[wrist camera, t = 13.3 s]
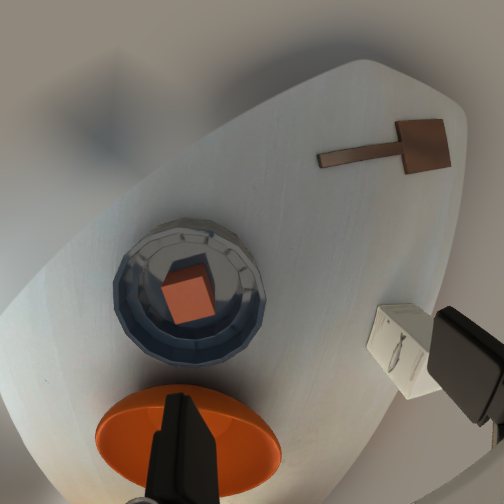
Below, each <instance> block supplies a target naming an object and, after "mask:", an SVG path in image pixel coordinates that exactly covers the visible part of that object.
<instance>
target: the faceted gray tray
mask: <svg viewBox="0 0 504 504" xmlns="http://www.w3.org/2000/svg"><path fill="white" fill-rule="evenodd" d="M201 263H204V264H205V267H206V270H207V273H208V277H209V280H210V283H211V286H212V289H213V292H214V295H215V315H212V316H208V317H204V318H200V319H196V320H192V321H188V322H184V323H180V324H175V322H174V320H173V317H172V315H171V312H170V310H169V307H168V305H167V302H166V299H165V297H164V294H163V292H162V289H161V286H162V284H163V282H164V280H165V277H166V275H167V273H169V272H172V271H176V270H180V269H183V268H187V267H190V266H194V265H198V264H201ZM113 299H114V310H115V313H116V315H117V317H118V319H119V321H120V324H121V326H122V328H123V330H124V332H125V334H126V335H127V336H128V337H129V338H130V339H131V340H132V341H133V342H134V343H135V344H136V345H137V346H138V347H139V348H140V349H141V350H142V351H143V352H144V353H146V354H147V355H150V356H152V357H154V358H156V359H158V360H160V361H162V362H164V363H167V364H169V365H173V366H181V367H190V368H201V367H205V366H210V365H214V364H219V363H223V362H225V361H227V360H228V359H230V358H231V357H233V356H235V355H236V354H238V353H239V352H241V351H242V350H244V349H245V348H247V346H248V345H249V343H250V342H251V340H252V339H253V338H254V336H255V335H256V333H257V332H258V330H259V329H260V327H261V326H262V320H263V315H264V310H265V304H266V296H265V292H264V288H263V284H262V280H261V276H260V272H259V270H258V267H257V265H256V263H255V261H254V259H253V256H252V255H251V253H250V252H249V251H248V249H247V248H246V247H245V246H244V244H243V243H242V242H241V240H240V239H239V238H238V237H237V235H236V234H234V233H232V232H230V231H229V230H227V229H225V228H223V227H222V226H220V225H218V224H216V223H214V222H213V221H208V220H199V219H191V218H181V219H178V220H175V221H171V222H168V223H164V224H161V225H158V226H157V227H156V228H154V229H153V230H152V231H151V232H150V233H148V234H147V235H146V236H145V237H144V238H143V239H142V240H140V241H139V242H138V243H137V244H136V245H135V246H134V247H133V248H132V249H131V250H130V251H128V252H127V253H126V254H125V255H124V257H123V259H122V261H121V264H120V266H119V268H118V271H117V273H116V276H115V278H114V281H113Z"/></svg>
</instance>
